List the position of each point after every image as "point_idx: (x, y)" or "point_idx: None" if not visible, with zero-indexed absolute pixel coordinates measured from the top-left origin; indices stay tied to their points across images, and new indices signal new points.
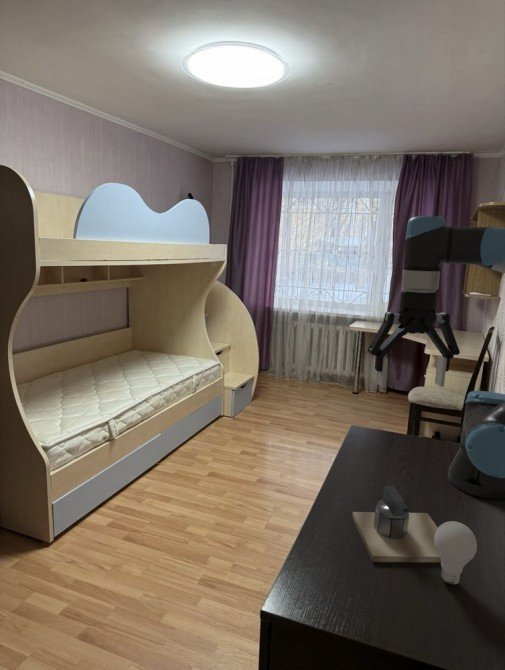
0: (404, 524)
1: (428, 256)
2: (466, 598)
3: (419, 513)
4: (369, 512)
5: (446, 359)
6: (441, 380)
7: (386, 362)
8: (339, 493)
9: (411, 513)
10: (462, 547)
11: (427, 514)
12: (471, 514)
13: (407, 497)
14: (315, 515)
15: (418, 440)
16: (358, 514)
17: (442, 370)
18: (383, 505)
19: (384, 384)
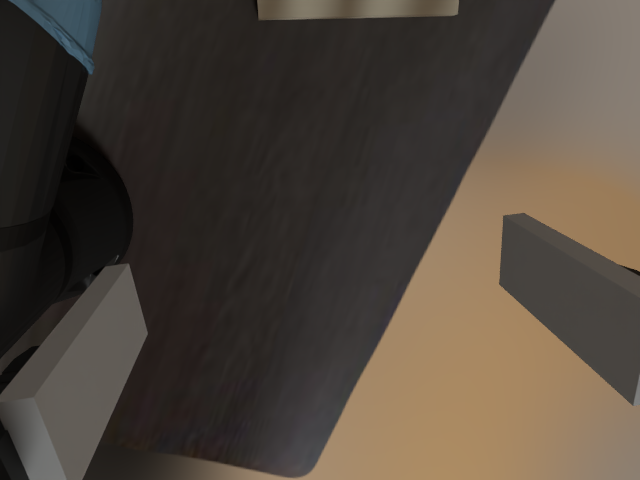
0: None
1: None
2: None
3: (281, 14)
4: (415, 13)
5: (4, 393)
6: (113, 284)
7: (628, 287)
8: (449, 131)
9: (303, 14)
10: None
11: (260, 10)
12: (126, 46)
13: (278, 124)
14: (539, 20)
15: (153, 430)
16: (446, 2)
17: (86, 322)
18: None
19: (518, 220)
